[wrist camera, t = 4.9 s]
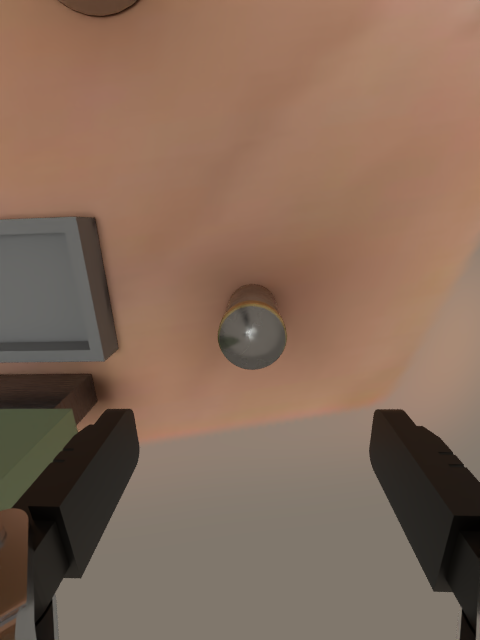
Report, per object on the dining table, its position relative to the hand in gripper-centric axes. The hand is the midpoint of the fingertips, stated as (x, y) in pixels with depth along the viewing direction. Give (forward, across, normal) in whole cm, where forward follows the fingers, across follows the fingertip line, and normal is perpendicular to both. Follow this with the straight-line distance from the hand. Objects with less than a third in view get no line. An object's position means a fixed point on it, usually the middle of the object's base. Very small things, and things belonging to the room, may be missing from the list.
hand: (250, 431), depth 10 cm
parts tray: (+15, +22, -2) cm, 27 cm away
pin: (+15, 0, 0) cm, 15 cm away
